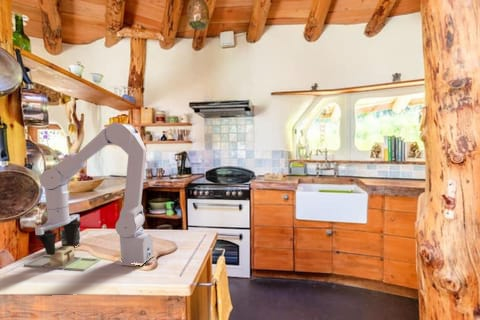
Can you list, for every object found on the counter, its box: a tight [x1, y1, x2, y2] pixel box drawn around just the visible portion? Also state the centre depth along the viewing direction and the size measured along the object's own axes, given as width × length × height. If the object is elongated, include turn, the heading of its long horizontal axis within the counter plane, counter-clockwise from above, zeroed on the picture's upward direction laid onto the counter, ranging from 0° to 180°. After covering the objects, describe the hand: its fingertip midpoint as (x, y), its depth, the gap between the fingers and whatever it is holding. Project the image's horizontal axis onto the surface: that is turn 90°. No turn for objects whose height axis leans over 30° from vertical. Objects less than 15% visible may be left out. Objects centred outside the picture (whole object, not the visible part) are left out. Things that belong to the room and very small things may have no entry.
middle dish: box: [43, 256, 82, 270], centre depth 87 cm, size 7×7×1 cm
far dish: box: [23, 254, 50, 269], centre depth 88 cm, size 7×7×1 cm
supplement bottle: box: [59, 226, 82, 247], centre depth 100 cm, size 6×6×11 cm
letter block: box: [50, 245, 76, 266], centre depth 87 cm, size 5×5×5 cm
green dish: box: [64, 257, 102, 272], centre depth 85 cm, size 7×7×1 cm
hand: (61, 249), depth 87 cm, fingers open, 7 cm apart
